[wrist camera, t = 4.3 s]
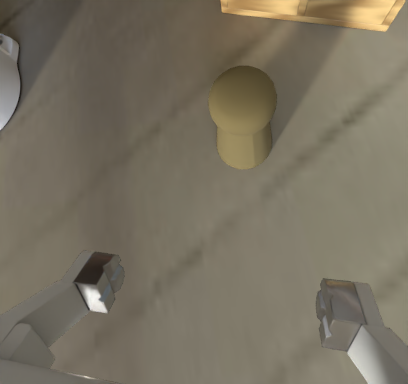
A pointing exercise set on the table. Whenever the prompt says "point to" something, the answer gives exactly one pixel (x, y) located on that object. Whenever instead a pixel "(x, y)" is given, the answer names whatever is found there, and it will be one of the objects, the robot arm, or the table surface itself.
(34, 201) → the table surface
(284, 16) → the wooden compartment tray
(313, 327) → the table surface
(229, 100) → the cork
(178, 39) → the table surface
